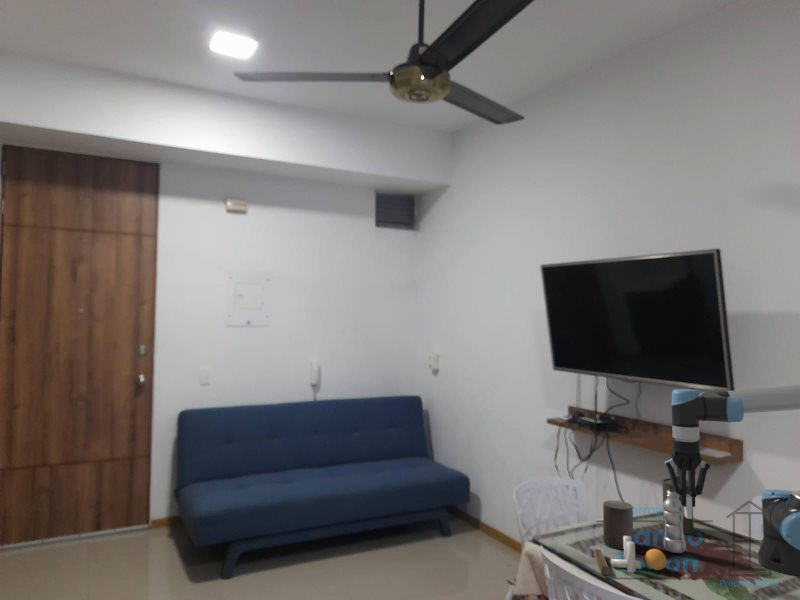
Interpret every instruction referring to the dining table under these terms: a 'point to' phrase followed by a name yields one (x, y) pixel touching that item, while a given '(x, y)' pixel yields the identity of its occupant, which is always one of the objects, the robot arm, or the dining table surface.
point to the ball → (655, 559)
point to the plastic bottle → (673, 523)
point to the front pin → (623, 563)
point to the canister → (667, 485)
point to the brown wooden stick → (601, 561)
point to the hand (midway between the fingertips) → (688, 517)
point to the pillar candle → (617, 522)
